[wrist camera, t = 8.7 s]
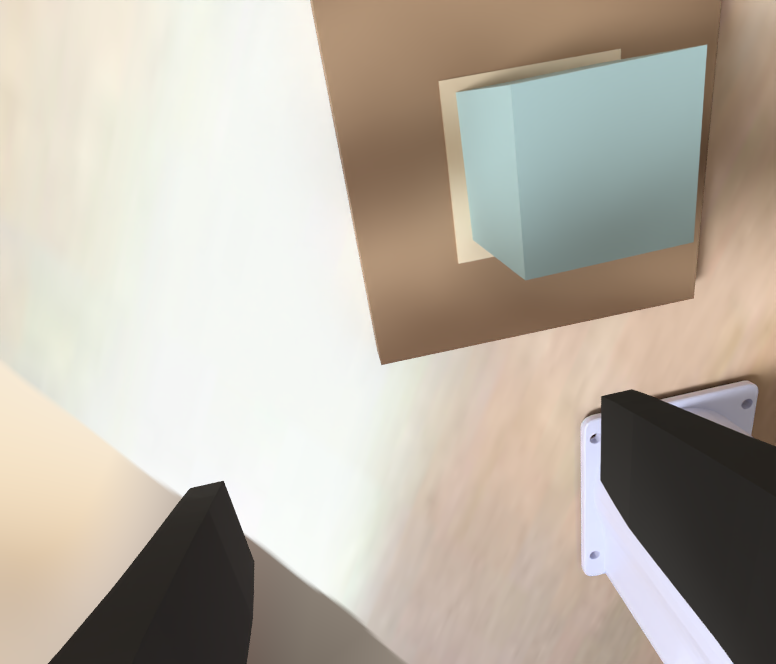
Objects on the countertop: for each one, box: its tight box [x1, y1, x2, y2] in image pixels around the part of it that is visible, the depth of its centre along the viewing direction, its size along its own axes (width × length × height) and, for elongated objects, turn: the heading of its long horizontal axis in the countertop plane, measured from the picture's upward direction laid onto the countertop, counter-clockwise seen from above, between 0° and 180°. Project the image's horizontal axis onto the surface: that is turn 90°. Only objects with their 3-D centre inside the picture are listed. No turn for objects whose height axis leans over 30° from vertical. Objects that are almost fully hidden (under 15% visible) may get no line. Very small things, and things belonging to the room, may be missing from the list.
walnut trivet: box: [310, 0, 722, 365], centre depth 17 cm, size 12×12×1 cm
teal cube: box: [456, 45, 707, 280], centre depth 14 cm, size 4×4×4 cm
